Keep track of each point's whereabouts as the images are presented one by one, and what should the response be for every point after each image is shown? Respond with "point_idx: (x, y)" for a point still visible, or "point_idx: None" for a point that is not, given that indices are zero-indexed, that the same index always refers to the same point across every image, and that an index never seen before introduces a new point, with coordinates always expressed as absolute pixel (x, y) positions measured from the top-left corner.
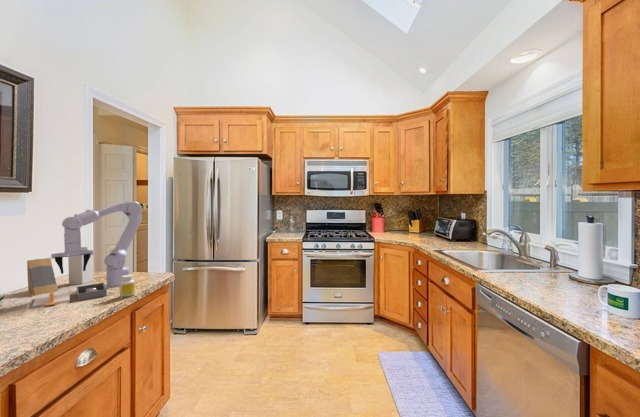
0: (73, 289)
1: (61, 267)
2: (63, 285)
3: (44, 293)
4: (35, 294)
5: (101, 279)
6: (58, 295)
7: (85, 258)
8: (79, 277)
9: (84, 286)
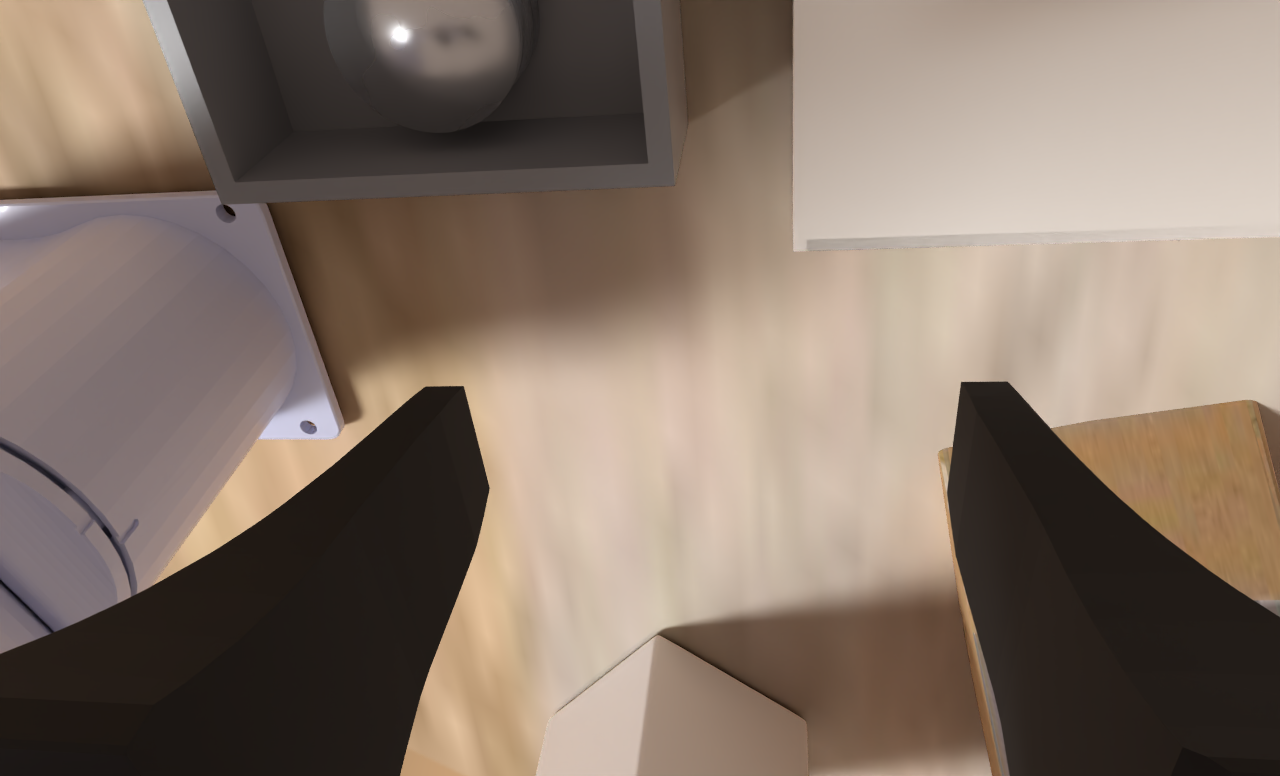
0: (752, 477)
1: (1066, 501)
2: (865, 728)
3: (1130, 447)
4: (1255, 446)
5: (469, 725)
6: (989, 23)
7: (147, 662)
8: (680, 745)
9: (542, 161)
